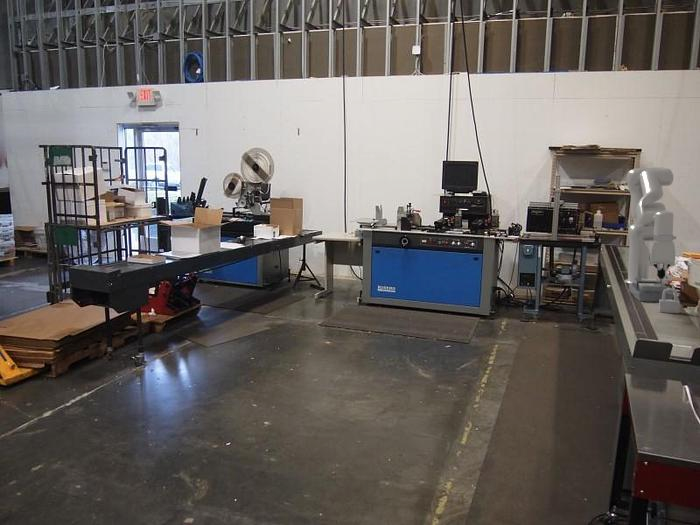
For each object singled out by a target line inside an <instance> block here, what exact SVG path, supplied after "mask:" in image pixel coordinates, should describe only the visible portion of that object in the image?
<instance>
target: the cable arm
mask: <svg viewBox="0 0 700 525" xmlns="http://www.w3.org/2000/svg"><path fill="white" fill-rule="evenodd" d="M661 269H662V267H661ZM665 279H666V280H667V281H673V277H672V276H671V274H670V273H668V272H667V269H666V270H665V277H664V279H662V278H661V279H659V278H658V280H659V281H660V282H661V284H664V285H665Z"/></svg>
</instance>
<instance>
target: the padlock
mask: <svg viewBox="0 0 700 525" xmlns="http://www.w3.org/2000/svg"><path fill="white" fill-rule="evenodd" d="M667 291H669V292H671V293H672V292H673V294H674V295H673V299H672V300H667V299H666V300H665V295H666V292H667ZM680 303H681V302H680V300H679V299H678V291H677V290H676V289H675V288H668V287H667V289H665V290H664V291H663V294H662V299H660V300H659V302H658V305H659V306H658V311H659V313H666V314H667V313H669V314H680V305H681V304H680Z"/></svg>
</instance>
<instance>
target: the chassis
mask: <svg viewBox="0 0 700 525" xmlns="http://www.w3.org/2000/svg"><path fill="white" fill-rule="evenodd" d="M665 289H668V286H666V284H665V283H664V284H661V282H660V281H659V278H649V279H638V278H634V283H632V282H629V284H628V291H629V292H630V293H631V294H632V295H633V297H635V299H636V298H637V299H638V300H639V301H650V302H649V303H659V300H660V299H662V294H663V291H664V290H665ZM637 299H636V300H637ZM666 299H667V300H673V293H672V291H667V292H666V295H665V300H666ZM638 300H637V301H638ZM639 301H638V302H639Z"/></svg>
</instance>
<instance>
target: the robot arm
mask: <svg viewBox="0 0 700 525" xmlns="http://www.w3.org/2000/svg"><path fill="white" fill-rule="evenodd" d="M673 182H674V174H673V171H672V170H671V169H670V168H666V167H638V168H637V167H636V168H632V169H630V170H629V171H627V174H626V185H627V187H628V190H629V193H630V215H631V218H632V220H634V221H637V222H636V223H633V224H631V225H630V226H629V227H628V230H627V233H628V234H627V235H628V243H629V246H628V247H629V249H628V250H629V251H628V271H627V278H626V279H625V280H624V283H625V284H627V285H629V282H632V283H634V278H638V279H650V278H649V275H650V266H651V267H654V268H655V269H656V270H657V274H656V276H657V277H658V278H657V279H658V280H659V279H661V278H662V279H664V280H665V270H666V271H667V269H669V268H670V267H675V266H676V247H675V242H674V240H676V239H677V236H676V235H674V233H673V232H674V218H675V217H674V213H673V211H669V210H667V208H666V206H665V204H664V203H662V202H659V201H660V200H661V199H662V198H663V197H664V191H663V187H668V186H671V185H672V184H673ZM646 242H650V246H648V245H647V244H646ZM661 264H662V267H661ZM661 268H662V269H661Z"/></svg>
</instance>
